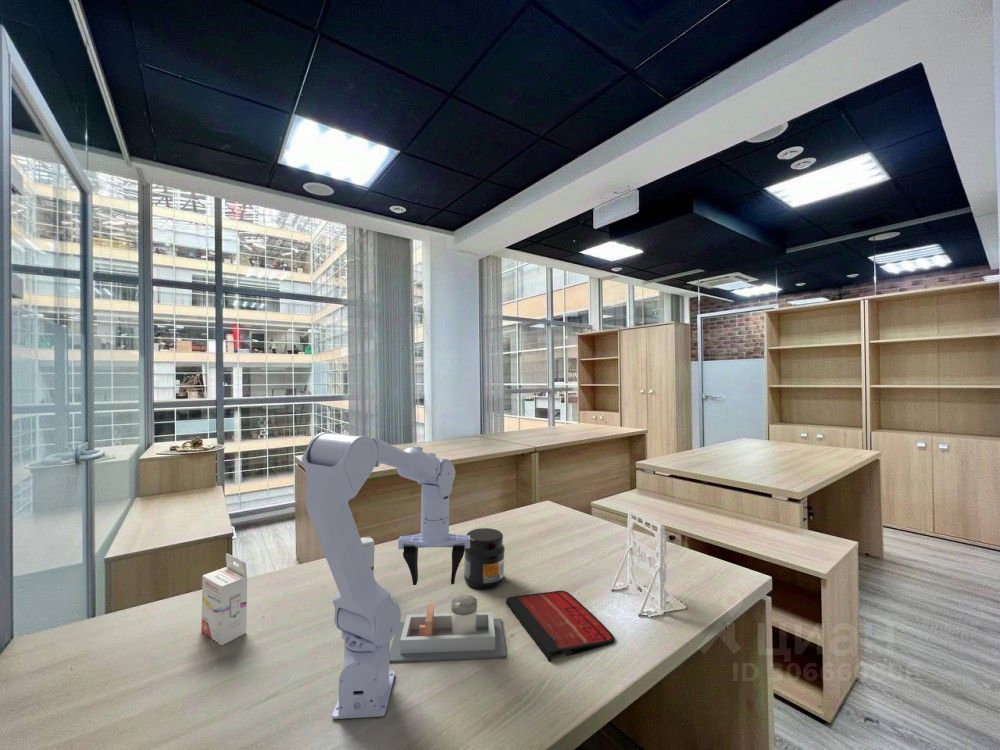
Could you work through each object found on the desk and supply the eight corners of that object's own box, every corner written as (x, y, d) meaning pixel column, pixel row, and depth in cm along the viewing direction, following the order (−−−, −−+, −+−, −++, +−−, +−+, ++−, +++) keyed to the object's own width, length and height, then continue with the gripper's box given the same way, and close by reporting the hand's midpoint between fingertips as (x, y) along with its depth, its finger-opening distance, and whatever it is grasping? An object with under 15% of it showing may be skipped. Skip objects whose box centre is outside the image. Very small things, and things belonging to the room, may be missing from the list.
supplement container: (511, 585, 104) (511, 538, 104) (472, 594, 100) (473, 545, 100) (494, 568, 114) (494, 524, 114) (458, 575, 109) (458, 530, 109)
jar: (477, 644, 80) (477, 608, 80) (450, 645, 80) (450, 609, 80) (476, 628, 85) (476, 594, 85) (451, 629, 85) (451, 595, 85)
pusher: (431, 647, 79) (431, 621, 79) (417, 648, 79) (417, 621, 79) (433, 628, 85) (434, 604, 85) (421, 629, 85) (421, 604, 85)
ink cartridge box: (199, 632, 84) (200, 560, 84) (225, 620, 88) (227, 551, 88) (220, 647, 79) (222, 570, 80) (247, 633, 84) (248, 561, 84)
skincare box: (348, 597, 98) (349, 546, 98) (344, 589, 101) (345, 540, 102) (374, 590, 101) (375, 541, 101) (369, 582, 105) (370, 535, 105)
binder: (548, 651, 76) (505, 596, 96) (548, 664, 76) (505, 606, 96) (619, 636, 82) (565, 587, 102) (619, 648, 82) (564, 596, 101)
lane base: (506, 657, 77) (506, 642, 77) (387, 662, 75) (387, 646, 75) (501, 620, 89) (501, 606, 89) (398, 623, 87) (398, 610, 87)
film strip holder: (693, 610, 94) (693, 522, 94) (641, 619, 90) (641, 528, 90) (653, 580, 108) (653, 504, 108) (606, 587, 104) (606, 508, 104)
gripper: (470, 509, 89) (469, 572, 89) (403, 510, 88) (402, 573, 88) (470, 520, 82) (469, 589, 82) (396, 521, 81) (395, 590, 81)
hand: (434, 582), depth 84 cm, fingers open, 7 cm apart
